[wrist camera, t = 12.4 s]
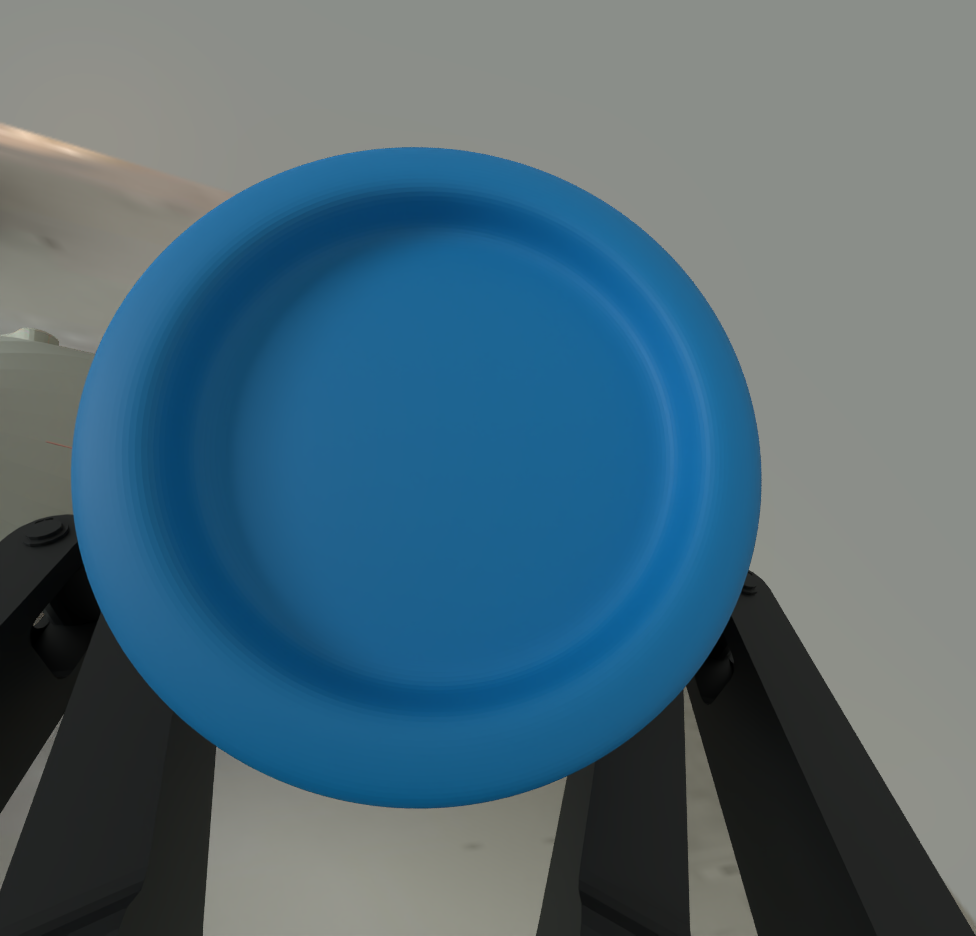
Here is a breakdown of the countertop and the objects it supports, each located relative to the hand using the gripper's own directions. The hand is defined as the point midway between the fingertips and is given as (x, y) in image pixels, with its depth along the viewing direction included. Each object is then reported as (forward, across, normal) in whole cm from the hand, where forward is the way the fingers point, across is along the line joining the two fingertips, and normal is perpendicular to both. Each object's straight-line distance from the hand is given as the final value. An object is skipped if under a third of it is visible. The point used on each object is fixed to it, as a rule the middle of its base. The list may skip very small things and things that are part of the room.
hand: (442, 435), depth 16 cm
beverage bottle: (+4, 0, -9) cm, 9 cm away
